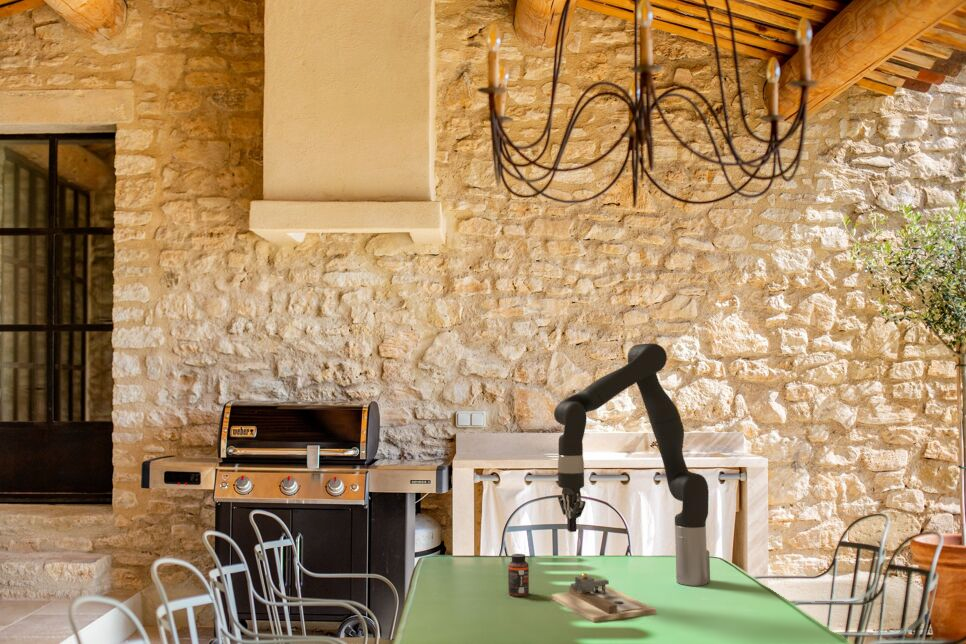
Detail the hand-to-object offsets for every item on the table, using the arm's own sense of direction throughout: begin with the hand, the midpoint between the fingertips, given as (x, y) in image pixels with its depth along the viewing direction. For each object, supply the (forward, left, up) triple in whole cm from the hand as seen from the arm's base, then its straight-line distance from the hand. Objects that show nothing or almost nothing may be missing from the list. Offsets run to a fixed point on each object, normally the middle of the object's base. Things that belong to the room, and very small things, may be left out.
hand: (571, 531), depth 229 cm
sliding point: (-3, +7, -17) cm, 18 cm away
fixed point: (-3, +3, -17) cm, 18 cm away
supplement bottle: (+13, -9, -19) cm, 25 cm away
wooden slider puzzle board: (-3, +11, -19) cm, 22 cm away
